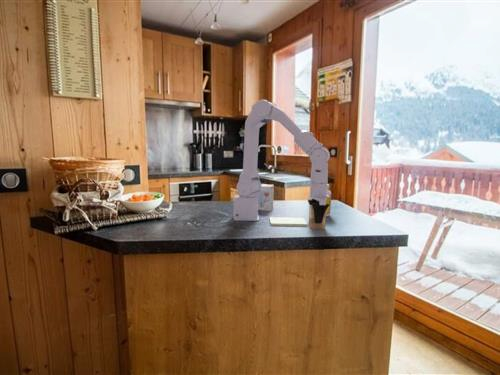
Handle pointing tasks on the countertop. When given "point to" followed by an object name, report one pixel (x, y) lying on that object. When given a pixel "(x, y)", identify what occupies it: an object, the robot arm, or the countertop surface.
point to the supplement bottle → (328, 201)
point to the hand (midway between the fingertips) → (316, 221)
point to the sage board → (287, 221)
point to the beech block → (312, 220)
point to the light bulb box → (265, 197)
